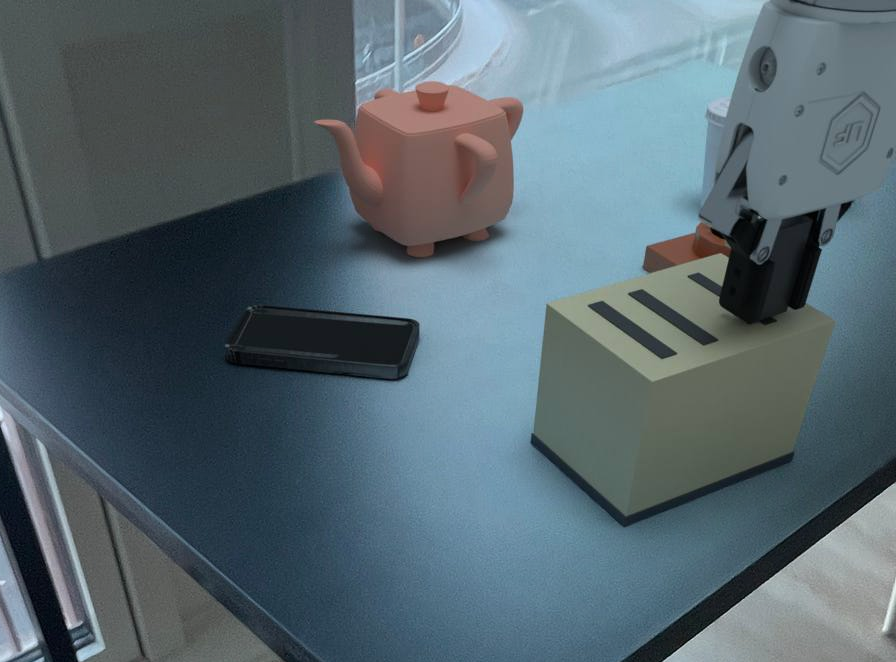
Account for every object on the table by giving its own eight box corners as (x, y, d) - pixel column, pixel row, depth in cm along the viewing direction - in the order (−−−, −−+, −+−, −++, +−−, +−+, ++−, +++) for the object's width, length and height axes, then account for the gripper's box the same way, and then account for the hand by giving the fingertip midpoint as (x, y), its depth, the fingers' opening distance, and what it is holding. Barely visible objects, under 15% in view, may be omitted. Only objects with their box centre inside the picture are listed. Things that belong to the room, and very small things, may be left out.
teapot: (517, 204, 103) (528, 62, 94) (499, 275, 92) (509, 122, 83) (358, 193, 105) (353, 53, 96) (322, 260, 94) (312, 109, 85)
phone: (249, 303, 86) (421, 319, 84) (250, 315, 87) (421, 331, 85) (220, 350, 81) (404, 368, 79) (222, 363, 81) (404, 380, 80)
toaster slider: (767, 300, 66) (792, 208, 62) (787, 312, 65) (813, 219, 61) (732, 311, 65) (755, 218, 61) (751, 323, 64) (776, 230, 59)
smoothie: (734, 228, 99) (771, 72, 89) (675, 212, 102) (704, 58, 92) (761, 207, 103) (799, 55, 93) (704, 191, 106) (735, 41, 96)
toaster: (690, 387, 79) (721, 250, 71) (792, 461, 73) (838, 318, 65) (530, 442, 74) (544, 301, 66) (623, 527, 67) (652, 381, 59)
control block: (740, 240, 98) (750, 199, 95) (807, 278, 92) (820, 236, 89) (642, 268, 93) (649, 226, 91) (706, 310, 88) (716, 266, 85)
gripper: (785, 10, 46) (700, 366, 60) (1020, -31, 52) (895, 302, 65) (679, -27, 51) (622, 312, 64) (906, -61, 57) (811, 256, 70)
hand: (761, 304), depth 64 cm, fingers closed on toaster slider, 3 cm apart
